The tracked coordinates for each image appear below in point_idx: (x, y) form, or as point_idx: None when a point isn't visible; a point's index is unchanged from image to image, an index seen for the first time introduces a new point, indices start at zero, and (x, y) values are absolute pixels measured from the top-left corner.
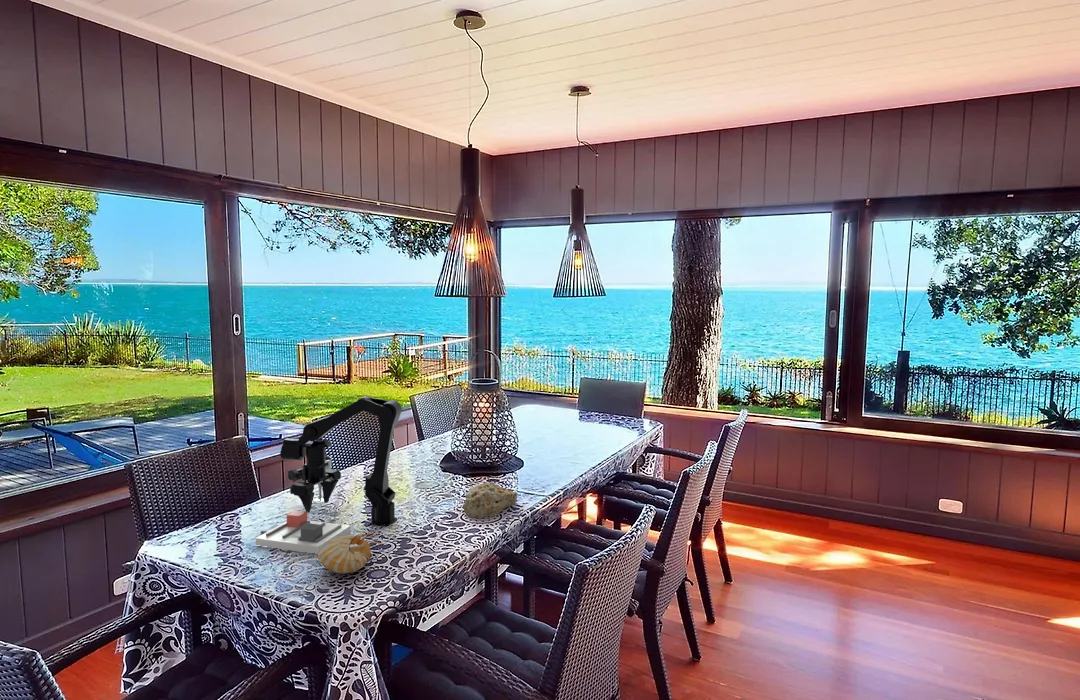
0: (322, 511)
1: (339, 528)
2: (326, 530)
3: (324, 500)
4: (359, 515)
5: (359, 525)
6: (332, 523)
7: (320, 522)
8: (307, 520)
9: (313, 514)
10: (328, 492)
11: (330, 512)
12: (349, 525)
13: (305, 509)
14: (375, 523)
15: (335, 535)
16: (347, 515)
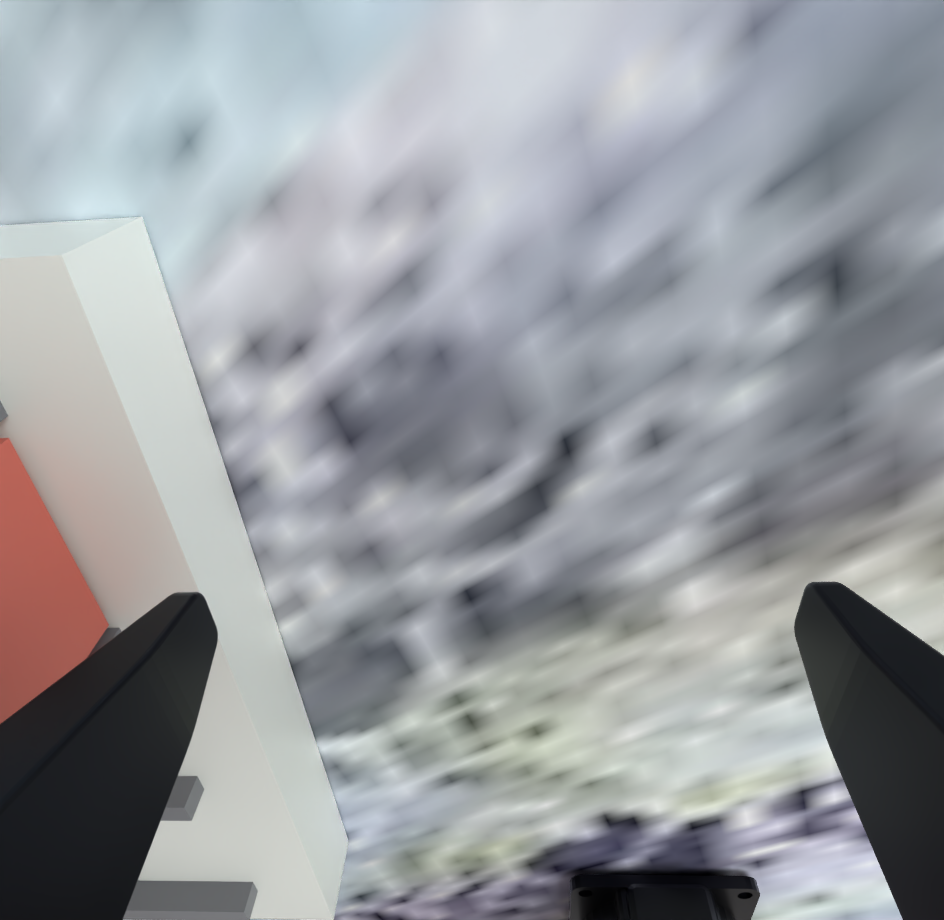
0: (939, 257)
1: (226, 891)
2: None
3: (829, 625)
4: (787, 743)
5: (526, 828)
6: (286, 814)
7: (236, 719)
8: (88, 651)
9: (757, 195)
10: (930, 913)
11: (883, 417)
12: (329, 915)
13: (124, 639)
14: (570, 913)
15: None
16: (772, 656)
